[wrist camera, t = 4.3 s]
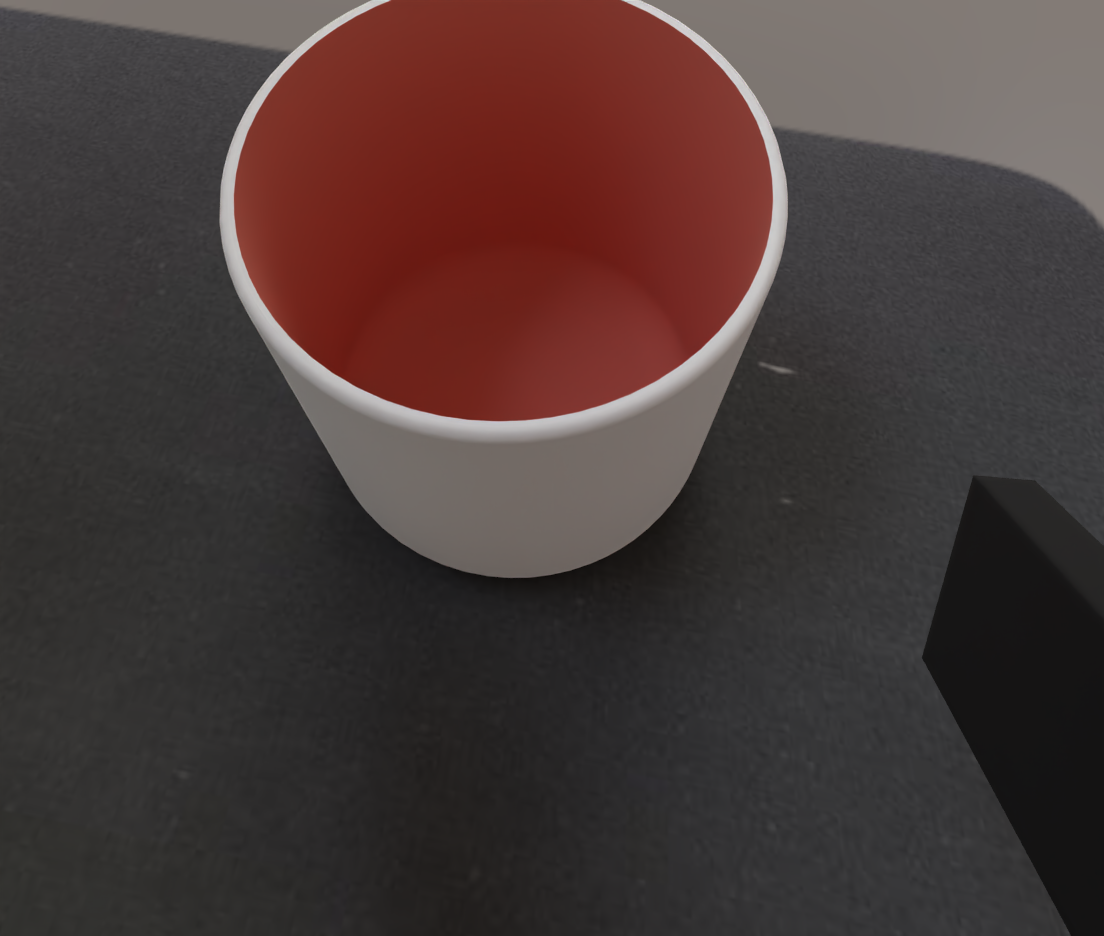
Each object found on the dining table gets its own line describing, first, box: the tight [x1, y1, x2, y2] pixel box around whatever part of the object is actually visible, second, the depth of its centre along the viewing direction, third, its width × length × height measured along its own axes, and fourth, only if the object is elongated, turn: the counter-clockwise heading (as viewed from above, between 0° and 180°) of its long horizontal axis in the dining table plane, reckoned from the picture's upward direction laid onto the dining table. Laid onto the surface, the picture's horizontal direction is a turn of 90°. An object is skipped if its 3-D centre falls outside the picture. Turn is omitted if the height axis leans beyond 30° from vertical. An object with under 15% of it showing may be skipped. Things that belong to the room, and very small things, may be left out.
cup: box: [220, 0, 788, 578], centre depth 21 cm, size 10×10×10 cm
